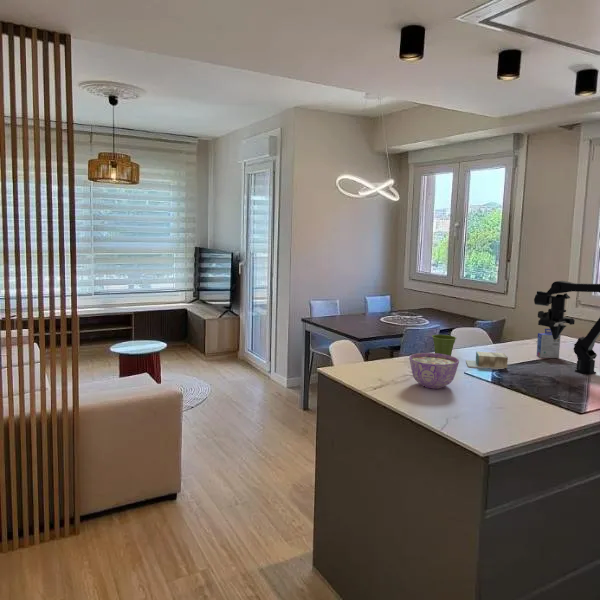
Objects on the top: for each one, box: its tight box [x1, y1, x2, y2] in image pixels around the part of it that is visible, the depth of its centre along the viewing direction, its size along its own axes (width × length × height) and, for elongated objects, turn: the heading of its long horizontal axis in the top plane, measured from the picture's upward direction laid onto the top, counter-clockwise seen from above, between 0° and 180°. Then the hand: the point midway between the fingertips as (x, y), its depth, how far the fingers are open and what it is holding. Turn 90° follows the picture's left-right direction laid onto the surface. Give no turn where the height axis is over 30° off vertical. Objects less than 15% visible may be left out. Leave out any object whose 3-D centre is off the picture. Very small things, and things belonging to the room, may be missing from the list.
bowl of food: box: [409, 352, 460, 390], centre depth 215 cm, size 20×20×12 cm
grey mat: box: [465, 359, 505, 370], centre depth 250 cm, size 16×12×1 cm
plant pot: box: [431, 334, 457, 356], centre depth 261 cm, size 12×12×11 cm
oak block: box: [475, 350, 509, 369], centre depth 249 cm, size 5×9×13 cm
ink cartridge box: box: [536, 328, 562, 359], centre depth 269 cm, size 10×6×14 cm, turn 89°
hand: (555, 339), depth 249 cm, fingers closed
